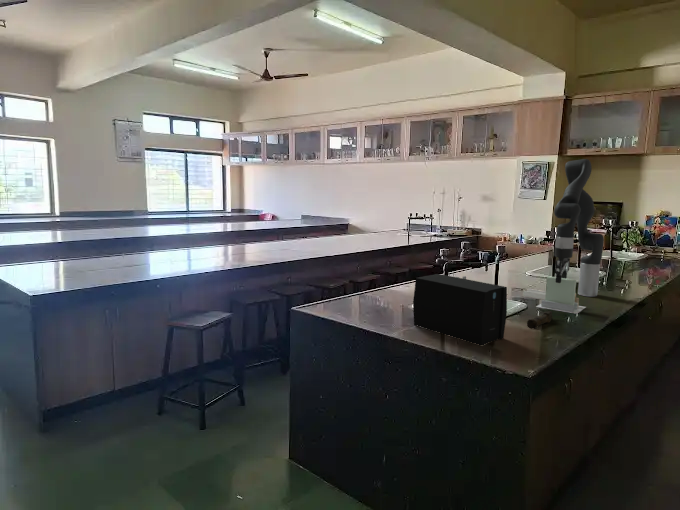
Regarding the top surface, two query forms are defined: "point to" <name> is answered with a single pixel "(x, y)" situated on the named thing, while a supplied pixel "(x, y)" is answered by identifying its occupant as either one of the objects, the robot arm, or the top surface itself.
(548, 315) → the hand tool
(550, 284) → the sage board
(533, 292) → the white stand
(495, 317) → the uninterruptible power supply
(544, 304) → the grey rack
